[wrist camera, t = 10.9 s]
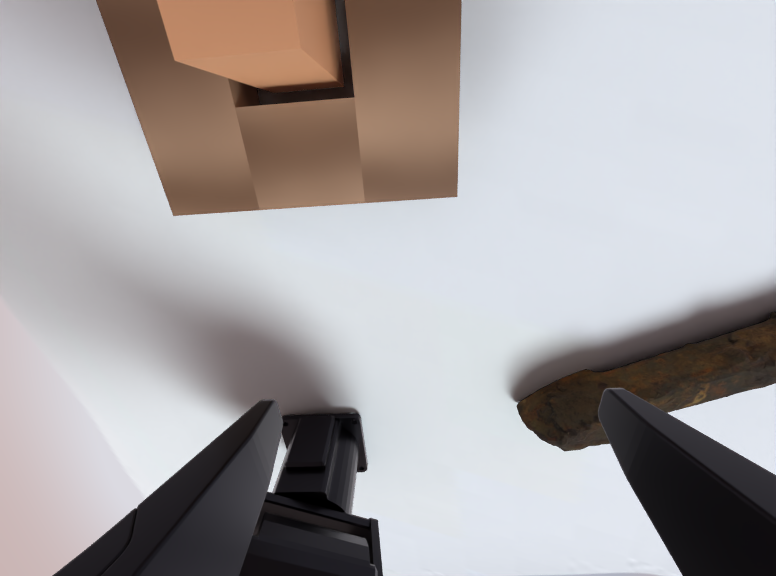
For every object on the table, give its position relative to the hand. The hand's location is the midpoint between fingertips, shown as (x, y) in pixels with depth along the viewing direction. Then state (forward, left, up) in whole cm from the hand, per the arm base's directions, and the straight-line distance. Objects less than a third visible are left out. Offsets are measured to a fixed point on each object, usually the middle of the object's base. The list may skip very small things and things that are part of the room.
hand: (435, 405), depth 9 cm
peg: (+11, +5, -12) cm, 17 cm away
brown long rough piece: (-10, -16, -12) cm, 23 cm away
